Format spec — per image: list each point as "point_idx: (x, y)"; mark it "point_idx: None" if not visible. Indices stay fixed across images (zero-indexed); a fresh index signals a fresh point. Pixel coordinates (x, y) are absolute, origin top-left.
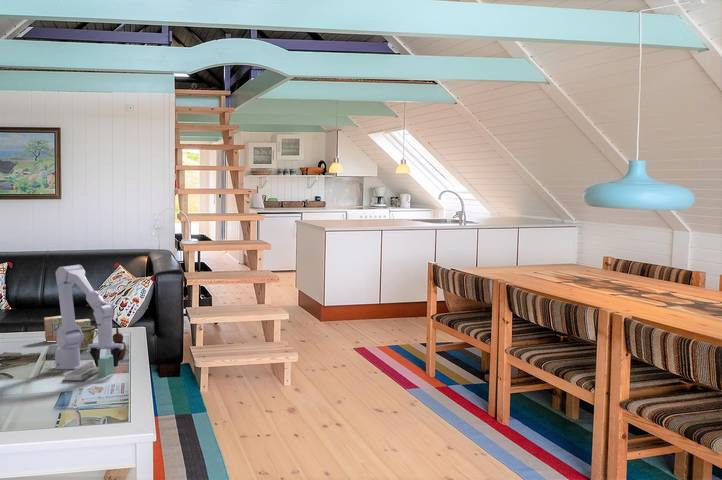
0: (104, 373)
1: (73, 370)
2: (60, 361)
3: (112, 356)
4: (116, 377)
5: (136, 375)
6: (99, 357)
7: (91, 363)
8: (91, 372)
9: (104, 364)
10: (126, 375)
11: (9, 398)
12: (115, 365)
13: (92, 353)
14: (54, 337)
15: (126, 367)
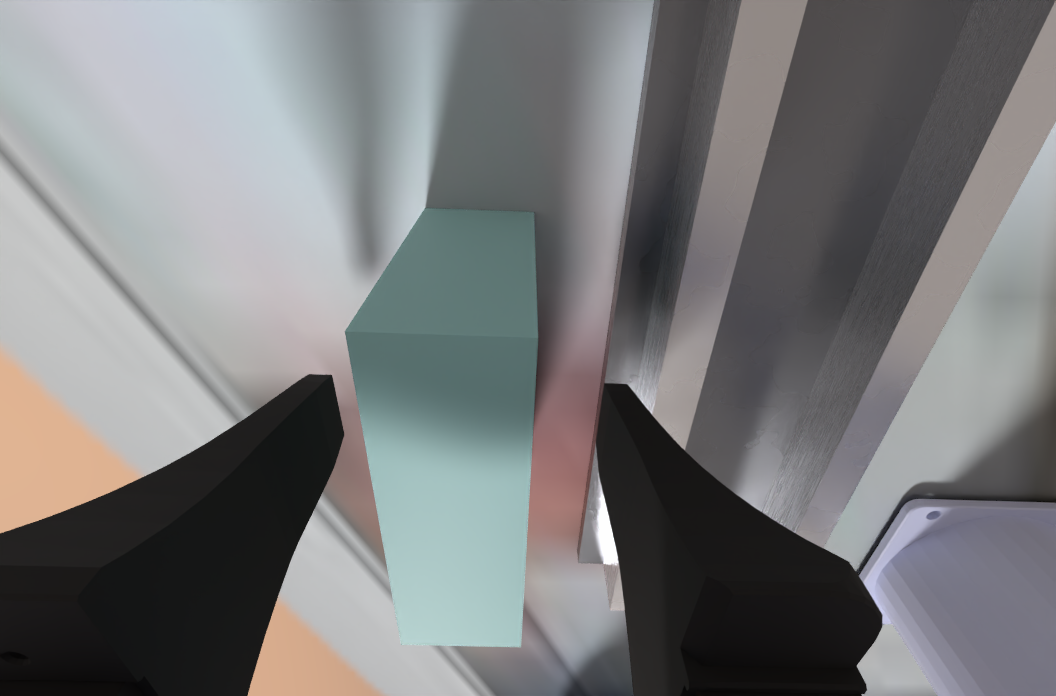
0: (436, 224)
1: (985, 240)
2: None
3: (395, 585)
4: (235, 164)
5: (23, 267)
6: (619, 556)
7: None
8: (666, 276)
9: (391, 281)
10: (166, 270)
11: None
12: (294, 385)
13: (757, 549)
14: None
15: None
